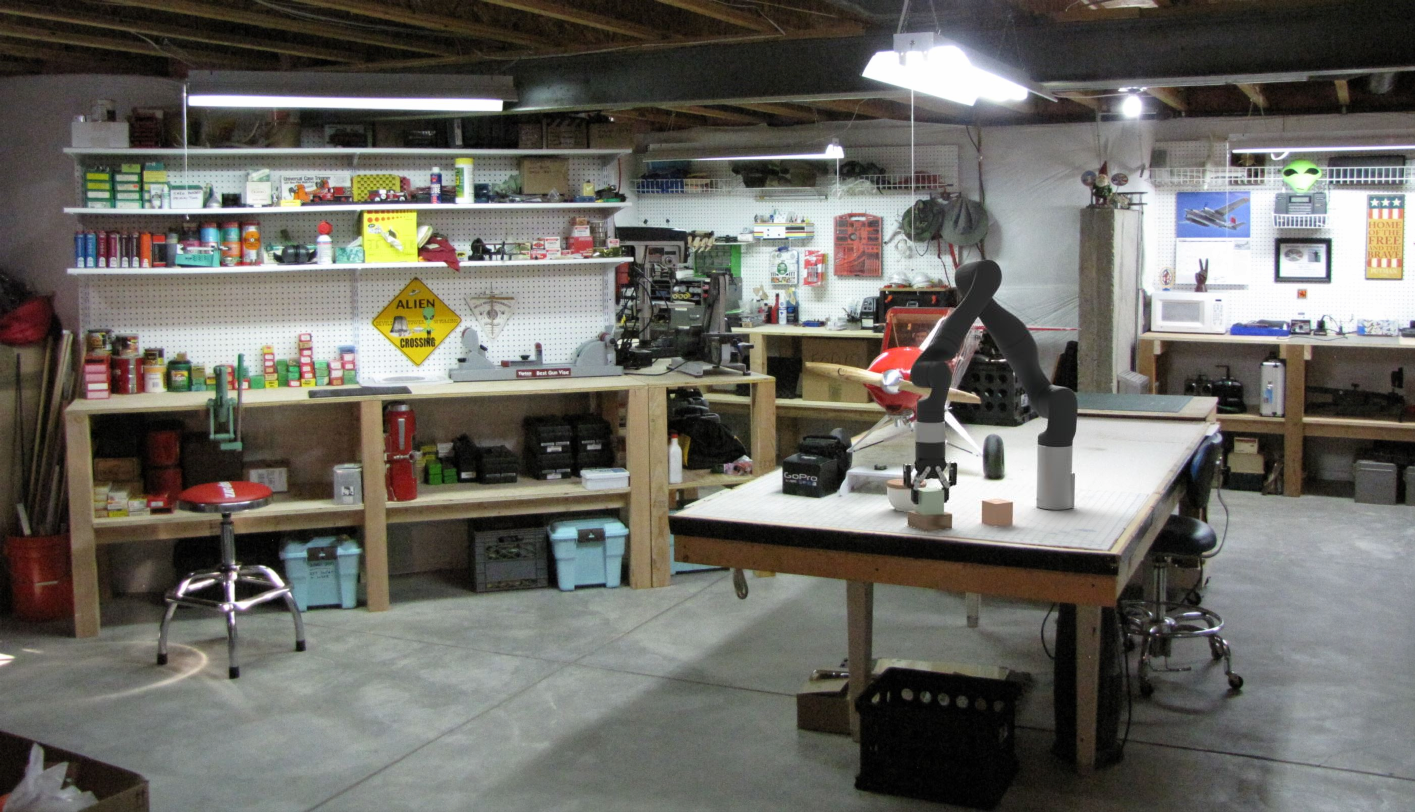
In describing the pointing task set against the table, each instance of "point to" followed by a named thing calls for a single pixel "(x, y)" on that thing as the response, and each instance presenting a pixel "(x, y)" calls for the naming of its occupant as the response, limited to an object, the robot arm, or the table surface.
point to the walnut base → (929, 521)
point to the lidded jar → (901, 495)
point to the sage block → (930, 501)
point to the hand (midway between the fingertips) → (929, 503)
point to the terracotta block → (997, 512)
